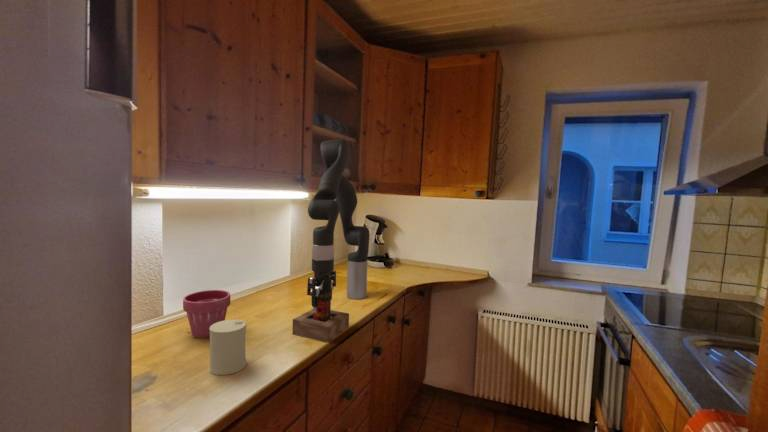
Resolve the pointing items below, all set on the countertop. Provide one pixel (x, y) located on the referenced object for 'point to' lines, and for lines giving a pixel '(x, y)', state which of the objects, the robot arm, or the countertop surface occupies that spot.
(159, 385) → the countertop surface
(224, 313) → the plant pot
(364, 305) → the countertop surface
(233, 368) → the can
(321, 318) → the deodorant
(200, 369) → the countertop surface
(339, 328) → the plinth
